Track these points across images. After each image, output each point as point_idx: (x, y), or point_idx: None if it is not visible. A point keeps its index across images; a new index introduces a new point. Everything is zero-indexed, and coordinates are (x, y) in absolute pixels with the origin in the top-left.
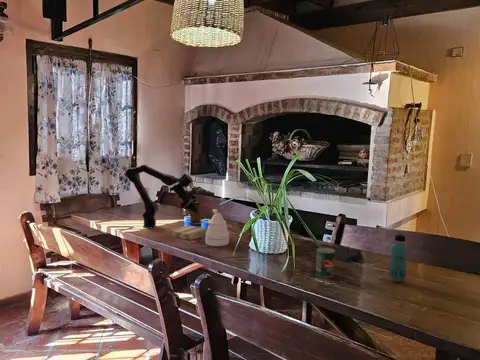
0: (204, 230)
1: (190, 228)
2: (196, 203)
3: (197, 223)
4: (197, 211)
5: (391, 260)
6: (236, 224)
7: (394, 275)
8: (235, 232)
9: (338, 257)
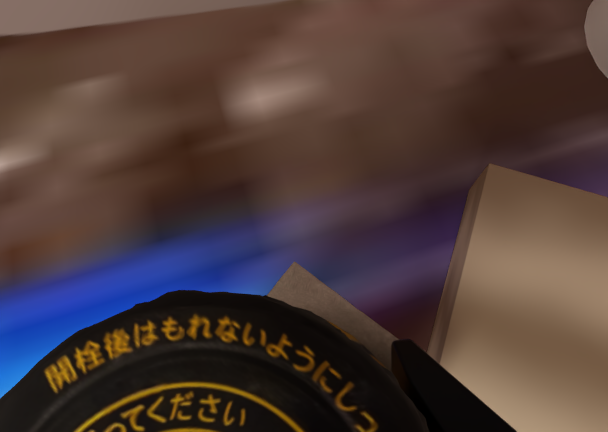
0: (566, 186)
1: (569, 405)
2: (401, 413)
3: None
4: (411, 341)
5: None
6: (9, 65)
7: None
8: (306, 6)
9: None
